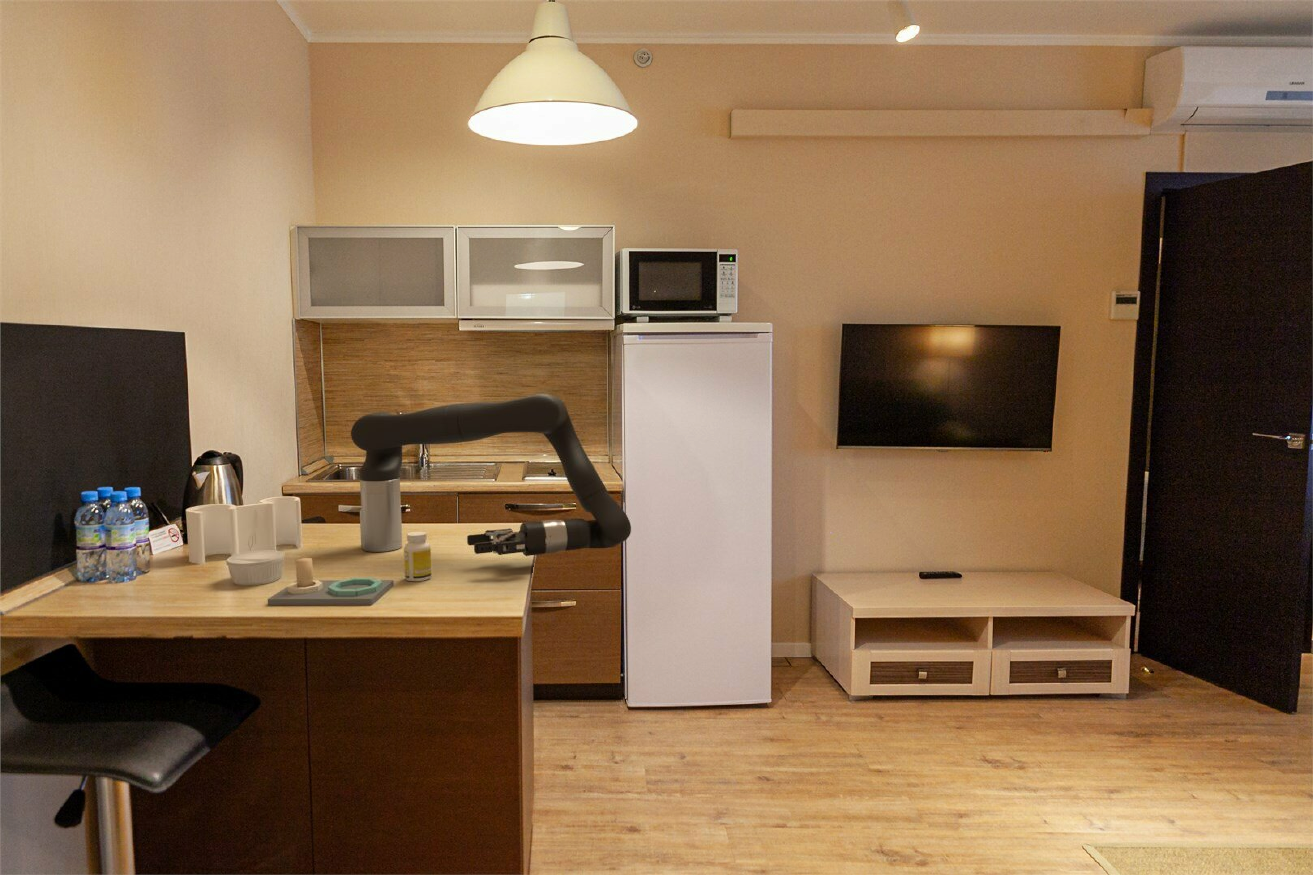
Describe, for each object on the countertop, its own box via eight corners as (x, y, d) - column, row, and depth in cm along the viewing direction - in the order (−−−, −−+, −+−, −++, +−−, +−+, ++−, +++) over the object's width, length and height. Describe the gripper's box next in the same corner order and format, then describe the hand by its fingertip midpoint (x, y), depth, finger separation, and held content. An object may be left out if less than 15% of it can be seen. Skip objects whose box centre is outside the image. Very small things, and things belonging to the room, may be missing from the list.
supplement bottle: (436, 576, 181) (435, 531, 180) (421, 583, 176) (420, 537, 175) (415, 574, 183) (413, 529, 182) (399, 580, 178) (398, 535, 177)
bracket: (294, 541, 215) (291, 494, 214) (307, 548, 208) (304, 499, 207) (184, 558, 199) (181, 507, 198) (194, 565, 192) (191, 513, 190)
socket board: (267, 605, 162) (265, 568, 161) (297, 586, 174) (295, 551, 174) (372, 604, 161) (370, 568, 161) (393, 585, 174) (392, 551, 174)
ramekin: (228, 590, 172) (226, 565, 171) (227, 577, 182) (225, 553, 181) (287, 583, 177) (286, 558, 177) (284, 570, 187) (282, 547, 186)
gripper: (535, 515, 196) (464, 521, 189) (551, 526, 182) (476, 534, 176) (536, 546, 196) (465, 554, 190) (552, 560, 183) (477, 569, 177)
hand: (470, 544), depth 183 cm, fingers open, 8 cm apart
